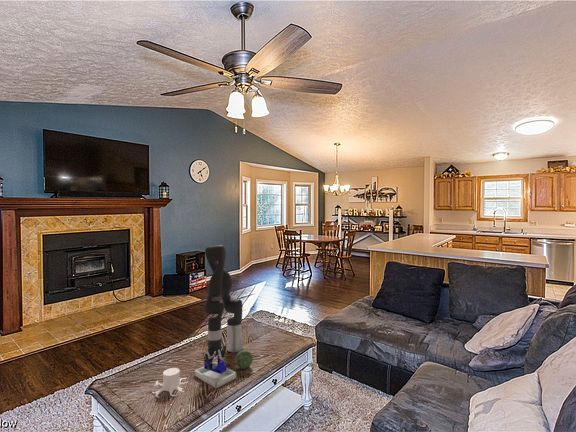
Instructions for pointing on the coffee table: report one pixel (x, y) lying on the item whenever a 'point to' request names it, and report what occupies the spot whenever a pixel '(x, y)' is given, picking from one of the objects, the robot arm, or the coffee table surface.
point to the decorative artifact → (243, 359)
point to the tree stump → (170, 381)
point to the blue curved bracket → (217, 367)
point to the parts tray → (215, 376)
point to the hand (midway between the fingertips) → (214, 367)
